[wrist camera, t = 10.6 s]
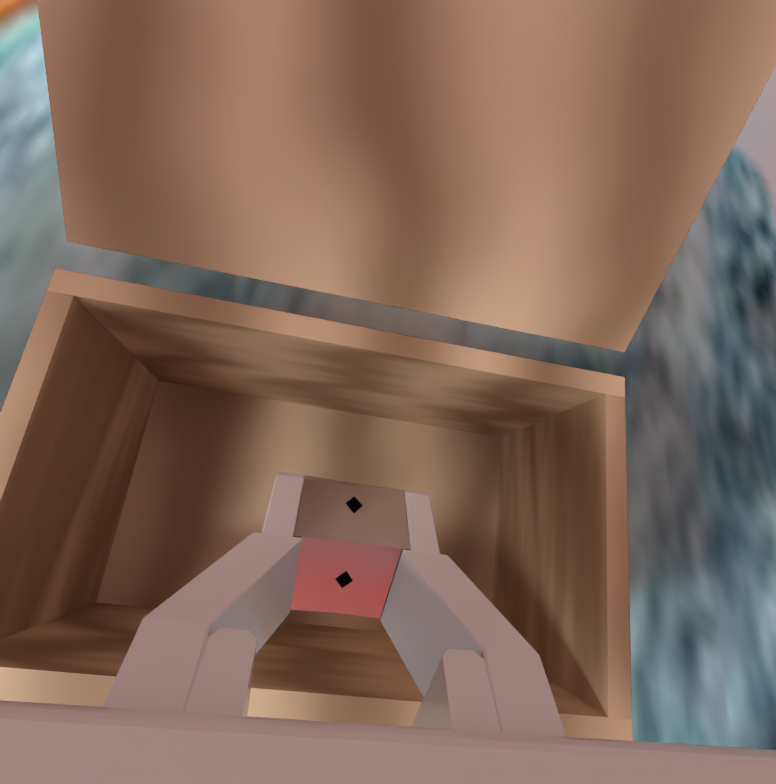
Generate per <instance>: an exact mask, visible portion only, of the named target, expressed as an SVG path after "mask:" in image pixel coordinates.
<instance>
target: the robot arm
mask: <svg viewBox="0 0 776 784" xmlns="http://www.w3.org/2000/svg"><path fill="white" fill-rule="evenodd" d="M303 479H304V482H303ZM302 486H303V488H302ZM290 610H302V611H317V612H332V613H341V614H349V615H357V616H365V617H373V618H381V620H380V621H381V623H382V625H383V626H384V628H385V630H386V632H387V633H388V635H389V637H390V639H391V640H392V642H393V644H394V646H395V648H396V649H397V651H398V653H399V655H400V656H401V658H402V660H403V662H404V663H405V665H406V667H407V669H408V671H409V672H410V674H411V676H412V678H413V679H414V681H415V683H416V685H417V686H418V688H419V690H420V692H421V694H422V695H423V697H424V699H423V701H422V703H421V705H420V708H419V710H418V712H417V714H416V717H415V719H414V721H413V723H412V726H411V727H407V726H391V725H376V724H360V723H344V722H329V721H313V720H298V719H282V718H267V717H251V716H247V714H248V706H249V699H250V691H251V683H252V676H253V668H254V660H255V655H256V653H257V652H258V651H259V650H260V649H261V647H262V646H263V645H264V644H265V642H266V641H267V640H268V639H269V638H270V636H271V635H272V634H273V633H274V631H275V630H276V629H277V628H278V627H279V625H280V624H281V623H282V622H283V620H284V619H285V618H286V617H287V615H288V614H289V613H290ZM0 784H776V750H765V749H750V748H734V747H719V746H703V745H688V744H672V743H657V742H641V741H626V740H610V739H595V738H579V737H566V734H565V731H564V728H563V725H562V722H561V719H560V716H559V713H558V710H557V707H556V704H555V701H554V698H553V695H552V692H551V689H550V686H549V683H548V680H547V677H546V674H545V671H544V668H543V665H542V662H541V659H540V656H539V654H538V653H537V652H536V651H535V650H534V649H533V647H532V646H531V645H530V644H529V643H528V642H527V641H526V640H525V639H524V638H523V637H522V636H521V634H520V633H519V632H518V631H517V630H516V629H515V628H514V627H513V626H512V625H511V624H510V622H509V621H508V620H507V619H506V618H505V617H504V616H503V615H502V614H501V613H500V612H499V611H498V609H497V608H496V607H495V606H494V605H493V604H492V603H491V602H490V601H489V600H488V599H487V597H486V596H485V595H484V594H483V593H482V592H481V591H480V590H479V589H478V588H477V587H476V586H475V584H474V583H473V582H472V581H471V580H470V579H469V578H468V577H467V576H466V575H465V574H464V573H463V571H462V570H461V569H460V568H459V567H458V566H457V565H456V564H455V563H454V562H453V561H452V559H451V558H450V557H449V556H448V555H443V554H440V551H439V545H438V540H437V535H436V529H435V524H434V518H433V513H432V508H431V502H430V497H429V494H428V493H427V492H426V491H417V490H409V489H402V490H401V489H395V488H387V487H380V486H372V485H364V484H357V483H351V482H345V481H338V480H332V479H326V478H319V477H313V476H307V475H305V477H304V476H303V475H298V474H292V473H285V472H278V473H277V475H276V478H275V482H274V486H273V490H272V493H271V497H270V501H269V505H268V509H267V513H266V517H265V521H264V525H263V528H262V532H261V533H256V532H253V533H252V534H250V535H249V536H248V537H246V538H245V539H244V540H243V541H241V542H240V543H239V544H237V545H236V546H235V547H234V548H232V549H231V550H230V551H228V552H227V553H226V554H225V555H223V556H222V557H221V558H220V559H218V560H217V561H216V562H214V563H213V564H212V565H211V566H209V567H208V568H207V569H205V570H204V571H203V572H202V573H200V574H199V575H198V576H196V577H195V578H194V579H193V580H191V581H190V582H189V583H187V584H186V585H185V586H184V587H182V588H181V589H180V590H179V591H177V592H176V593H175V594H173V595H172V596H171V597H170V598H168V599H167V600H166V601H164V602H163V603H162V604H161V605H159V606H158V607H157V608H155V609H154V610H153V611H152V612H150V613H149V614H148V615H146V616H145V617H144V618H143V619H142V622H141V624H140V626H139V628H138V630H137V632H136V635H135V637H134V639H133V641H132V643H131V645H130V648H129V650H128V652H127V654H126V656H125V658H124V661H123V663H122V665H121V667H120V669H119V671H118V674H117V676H116V678H115V680H114V682H113V684H112V687H111V689H110V691H109V693H108V695H107V697H106V700H105V702H104V704H103V706H102V707H96V706H81V705H65V704H50V703H34V702H19V701H3V700H0Z"/></svg>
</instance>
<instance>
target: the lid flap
mask: <svg viewBox="0 0 776 784" xmlns="http://www.w3.org/2000/svg"><path fill="white" fill-rule="evenodd" d="M37 3H38V11H39V19H40V27H41V35H42V43H43V51H44V59H45V67H46V75H47V83H48V91H49V99H50V107H51V115H52V123H53V131H54V140H55V148H56V156H57V164H58V172H59V180H60V188H61V196H62V204H63V212H64V220H65V228H66V236H67V241H68V242H73V243H78V244H83V245H88V246H93V247H98V248H103V249H108V250H113V251H118V252H123V253H128V254H133V255H138V256H143V257H148V258H153V259H158V260H163V261H168V262H173V263H178V264H183V265H188V266H193V267H198V268H204V269H209V270H214V271H219V272H224V273H229V274H234V275H239V276H244V277H249V278H254V279H259V280H264V281H269V282H274V283H279V284H284V285H289V286H294V287H299V288H304V289H309V290H314V291H319V292H324V293H329V294H334V295H339V296H344V297H349V298H354V299H359V300H364V301H369V302H374V303H379V304H384V305H389V306H394V307H399V308H404V309H409V310H414V311H419V312H424V313H429V314H434V315H439V316H444V317H449V318H455V319H460V320H465V321H470V322H475V323H480V324H485V325H490V326H495V327H500V328H505V329H510V330H515V331H520V332H525V333H530V334H535V335H540V336H545V337H550V338H555V339H560V340H565V341H570V342H575V343H580V344H585V345H590V346H595V347H600V348H605V349H610V350H615V351H620V352H625V351H626V349H627V347H628V345H629V343H630V341H631V339H632V338H633V336H634V334H635V332H636V330H637V328H638V326H639V324H640V322H641V320H642V319H643V317H644V315H645V313H646V311H647V309H648V307H649V305H650V303H651V301H652V300H653V298H654V296H655V294H656V292H657V290H658V288H659V286H660V284H661V283H662V281H663V279H664V277H665V275H666V273H667V271H668V269H669V267H670V265H671V264H672V262H673V260H674V258H675V256H676V254H677V252H678V250H679V248H680V246H681V245H682V243H683V241H684V239H685V237H686V235H687V233H688V231H689V229H690V227H691V226H692V224H693V222H694V220H695V218H696V216H697V214H698V212H699V210H700V208H701V207H702V205H703V203H704V201H705V199H706V197H707V195H708V193H709V191H710V189H711V188H712V186H713V184H714V182H715V180H716V178H717V176H718V174H719V172H720V171H721V169H722V167H723V165H724V163H725V161H726V159H727V157H728V155H729V153H730V152H731V150H732V148H733V146H734V144H735V142H736V140H737V138H738V136H739V134H740V132H741V130H742V129H743V126H744V125H745V123H746V121H747V119H748V117H749V115H750V113H751V112H752V110H753V108H754V106H755V104H756V102H757V100H758V98H759V96H760V95H761V93H762V91H763V89H764V87H765V85H766V83H767V81H768V79H769V78H770V76H771V74H772V72H773V70H774V68H775V66H776V0H37Z"/></svg>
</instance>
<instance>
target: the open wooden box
mask: <svg viewBox="0 0 776 784" xmlns="http://www.w3.org/2000/svg"><path fill="white" fill-rule="evenodd" d="M278 472H285V473H292V474H298V475H303V476H304V477H305V475H307V476H313V477H319V478H326V479H332V480H338V481H345V482H351V483H357V484H364V485H372V486H380V487H387V488H395V489H401V490H402V489H409V490H417V491H426V492H427V493H428V494H429V497H430V502H431V508H432V513H433V518H434V524H435V529H436V535H437V540H438V545H439V551H440V554H443V555H448V556H449V557H450V558H451V559H452V561H453V562H454V563H455V564H456V565H457V566H458V567H459V568H460V569H461V570H462V571H463V573H464V574H465V575H466V576H467V577H468V578H469V579H470V580H471V581H472V582H473V583H474V584H475V586H476V587H477V588H478V589H479V590H480V591H481V592H482V593H483V594H484V595H485V596H486V597H487V599H488V600H489V601H490V602H491V603H492V604H493V605H494V606H495V607H496V608H497V609H498V611H499V612H500V613H501V614H502V615H503V616H504V617H505V618H506V619H507V620H508V621H509V622H510V624H511V625H512V626H513V627H514V628H515V629H516V630H517V631H518V632H519V633H520V634H521V636H522V637H523V638H524V639H525V640H526V641H527V642H528V643H529V644H530V645H531V646H532V647H533V649H534V650H535V651H536V652H537V653H538V654H539V656H540V659H541V662H542V665H543V668H544V671H545V674H546V677H547V680H548V683H549V686H550V689H551V692H552V695H553V698H554V701H555V704H556V707H557V710H558V713H559V716H560V719H561V722H562V725H563V728H564V731H565V734H566V737H579V738H595V739H610V740H626V741H632V696H631V648H630V601H629V553H628V506H627V458H626V411H625V377H621V376H616V375H611V374H606V373H600V372H595V371H590V370H585V369H579V368H574V367H569V366H564V365H559V364H553V363H548V362H543V361H538V360H532V359H527V358H522V357H517V356H512V355H506V354H501V353H496V352H491V351H485V350H480V349H475V348H470V347H464V346H459V345H454V344H449V343H444V342H438V341H433V340H428V339H423V338H417V337H412V336H407V335H402V334H397V333H391V332H386V331H381V330H376V329H370V328H365V327H360V326H355V325H350V324H344V323H339V322H334V321H329V320H323V319H318V318H313V317H308V316H303V315H297V314H292V313H287V312H282V311H276V310H271V309H266V308H261V307H255V306H250V305H245V304H240V303H235V302H229V301H224V300H219V299H214V298H208V297H203V296H198V295H193V294H188V293H182V292H177V291H172V290H167V289H161V288H156V287H151V286H146V285H141V284H135V283H130V282H125V281H120V280H114V279H109V278H104V277H99V276H93V275H88V274H83V273H78V272H73V271H67V270H62V269H57V268H55V269H54V272H53V275H52V277H51V280H50V283H49V285H48V288H47V291H46V293H45V296H44V299H43V301H42V304H41V307H40V309H39V312H38V314H37V317H36V320H35V322H34V325H33V328H32V330H31V333H30V336H29V338H28V341H27V344H26V346H25V349H24V352H23V354H22V357H21V360H20V362H19V365H18V368H17V370H16V373H15V376H14V378H13V381H12V384H11V386H10V389H9V391H8V394H7V397H6V399H5V402H4V405H3V407H2V410H1V413H0V700H3V701H19V702H34V703H50V704H65V705H81V706H96V707H102V706H103V704H104V702H105V700H106V697H107V695H108V693H109V691H110V689H111V687H112V684H113V682H114V680H115V678H116V676H117V674H118V671H119V669H120V667H121V665H122V663H123V661H124V658H125V656H126V654H127V652H128V650H129V648H130V645H131V643H132V641H133V639H134V637H135V635H136V632H137V630H138V628H139V626H140V624H141V622H142V619H143V618H144V617H145V616H146V615H148V614H149V613H150V612H152V611H153V610H154V609H155V608H157V607H158V606H159V605H161V604H162V603H163V602H164V601H166V600H167V599H168V598H170V597H171V596H172V595H173V594H175V593H176V592H177V591H179V590H180V589H181V588H182V587H184V586H185V585H186V584H187V583H189V582H190V581H191V580H193V579H194V578H195V577H196V576H198V575H199V574H200V573H202V572H203V571H204V570H205V569H207V568H208V567H209V566H211V565H212V564H213V563H214V562H216V561H217V560H218V559H220V558H221V557H222V556H223V555H225V554H226V553H227V552H228V551H230V550H231V549H232V548H234V547H235V546H236V545H237V544H239V543H240V542H241V541H243V540H244V539H245V538H246V537H248V536H249V535H250V534H252V533H253V532H256V533H261V532H262V528H263V525H264V521H265V517H266V513H267V509H268V505H269V501H270V497H271V493H272V490H273V486H274V482H275V478H276V475H277V473H278ZM303 482H304V479H303ZM302 488H303V486H302ZM380 620H381V618H373V617H365V616H357V615H349V614H341V613H332V612H317V611H302V610H290V613H289V614H288V615H287V617H286V618H285V619H284V620H283V622H282V623H281V624H280V625H279V627H278V628H277V629H276V630H275V631H274V633H273V634H272V635H271V636H270V638H269V639H268V640H267V641H266V642H265V644H264V645H263V646H262V647H261V649H260V650H259V651H258V652H257V653H256V655H255V660H254V668H253V676H252V683H251V691H250V699H249V706H248V714H247V716H251V717H267V718H282V719H298V720H313V721H329V722H344V723H360V724H376V725H391V726H407V727H411V726H412V723H413V721H414V719H415V717H416V714H417V712H418V710H419V708H420V705H421V703H422V701H423V699H424V697H423V695H422V694H421V692H420V690H419V688H418V686H417V685H416V683H415V681H414V679H413V678H412V676H411V674H410V672H409V671H408V669H407V667H406V665H405V663H404V662H403V660H402V658H401V656H400V655H399V653H398V651H397V649H396V648H395V646H394V644H393V642H392V640H391V639H390V637H389V635H388V633H387V632H386V630H385V628H384V626H383V625H382V623H381V621H380Z"/></svg>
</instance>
